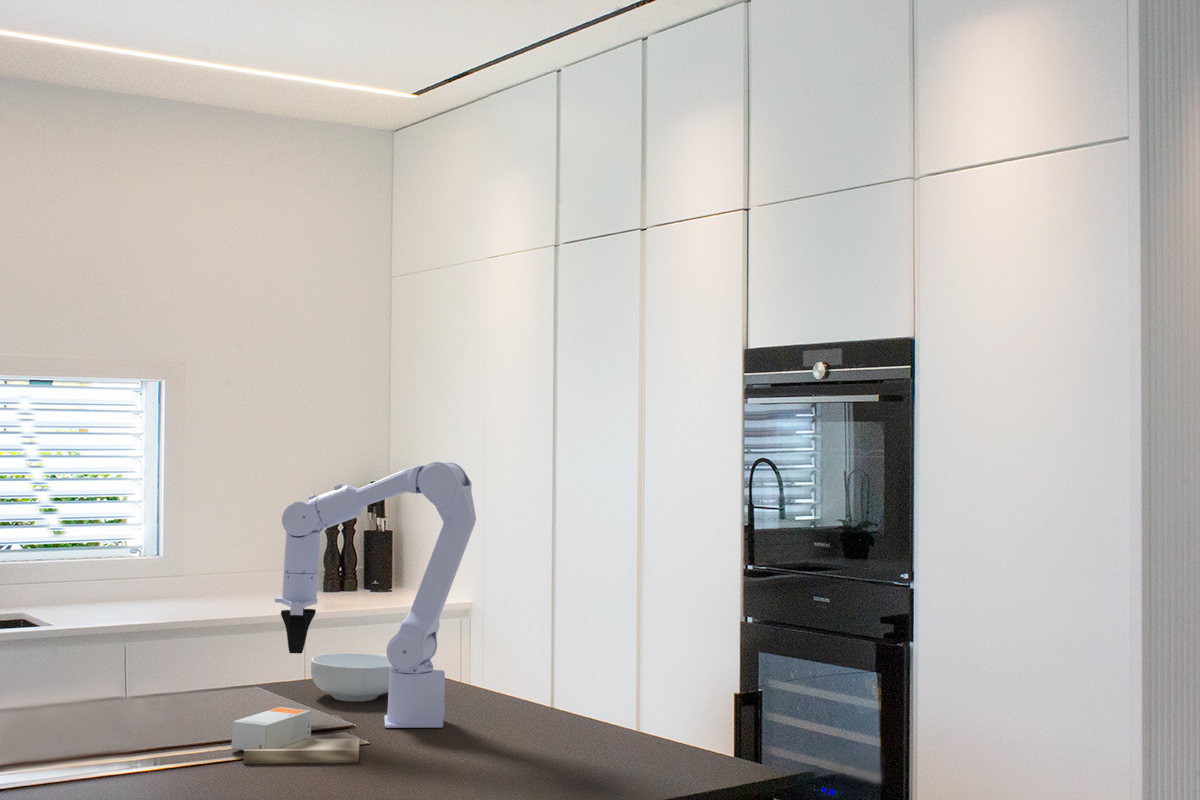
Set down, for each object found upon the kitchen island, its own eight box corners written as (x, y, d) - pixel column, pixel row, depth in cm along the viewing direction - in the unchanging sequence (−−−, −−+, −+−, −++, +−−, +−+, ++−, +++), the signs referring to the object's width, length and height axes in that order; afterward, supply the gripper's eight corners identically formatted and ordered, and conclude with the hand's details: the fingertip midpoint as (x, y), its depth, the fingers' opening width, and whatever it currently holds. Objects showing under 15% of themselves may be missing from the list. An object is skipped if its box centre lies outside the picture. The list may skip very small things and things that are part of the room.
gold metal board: (359, 741, 180) (359, 729, 180) (358, 762, 167) (359, 750, 167) (252, 741, 176) (253, 729, 177) (243, 763, 164) (244, 750, 164)
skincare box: (312, 709, 179) (266, 725, 168) (311, 737, 179) (265, 754, 168) (279, 705, 181) (231, 720, 170) (278, 733, 181) (230, 750, 170)
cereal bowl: (391, 709, 205) (393, 668, 205) (298, 704, 205) (300, 664, 205) (408, 690, 221) (410, 653, 222) (322, 687, 222) (324, 649, 222)
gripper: (279, 567, 204) (274, 645, 203) (273, 575, 189) (268, 659, 189) (320, 568, 205) (315, 646, 204) (317, 577, 191) (312, 660, 190)
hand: (295, 652), depth 196 cm, fingers closed
